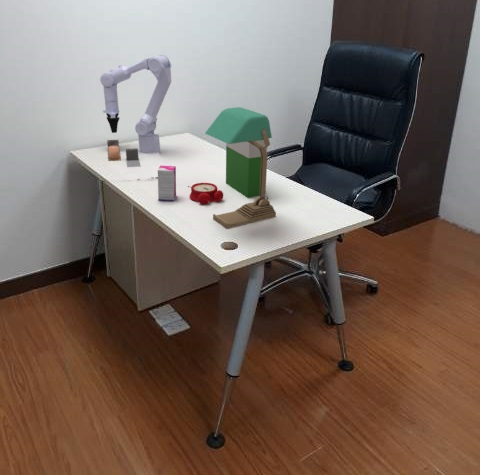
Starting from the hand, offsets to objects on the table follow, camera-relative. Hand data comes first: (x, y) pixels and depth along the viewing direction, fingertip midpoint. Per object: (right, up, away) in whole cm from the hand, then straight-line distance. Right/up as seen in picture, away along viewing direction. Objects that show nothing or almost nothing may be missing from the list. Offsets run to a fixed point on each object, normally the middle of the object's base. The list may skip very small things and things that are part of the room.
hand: (114, 130), depth 227 cm
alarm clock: (+46, -36, -49) cm, 76 cm away
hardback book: (+60, -31, -39) cm, 78 cm away
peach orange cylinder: (+2, -13, -7) cm, 15 cm away
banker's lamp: (+59, -43, -64) cm, 97 cm away
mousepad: (+28, -26, -30) cm, 49 cm away
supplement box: (+32, -35, -49) cm, 69 cm away
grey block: (+12, -18, -16) cm, 27 cm away
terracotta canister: (+3, -15, -11) cm, 19 cm away
